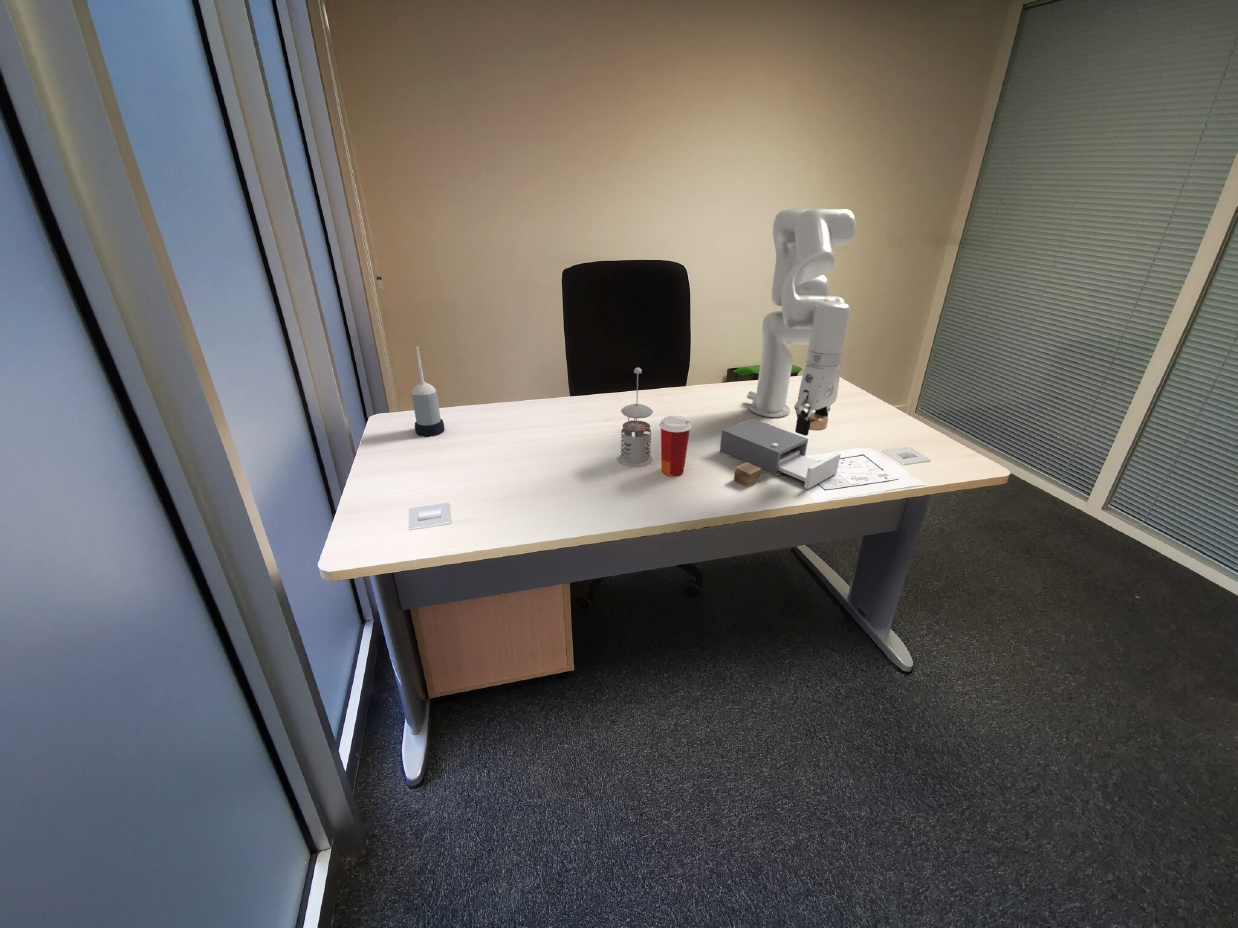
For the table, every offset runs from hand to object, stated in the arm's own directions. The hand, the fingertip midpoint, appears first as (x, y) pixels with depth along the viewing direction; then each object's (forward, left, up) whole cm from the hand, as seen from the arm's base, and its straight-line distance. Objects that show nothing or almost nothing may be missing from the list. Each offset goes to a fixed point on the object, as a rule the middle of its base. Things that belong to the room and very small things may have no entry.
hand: (810, 429), depth 131 cm
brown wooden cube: (-7, -14, -12) cm, 20 cm away
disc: (0, 0, +1) cm, 1 cm away
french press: (-34, -27, -12) cm, 45 cm away
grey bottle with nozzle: (-85, -62, -13) cm, 106 cm away
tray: (-4, 0, -12) cm, 13 cm away
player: (-13, 0, -12) cm, 18 cm away
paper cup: (-22, -25, -12) cm, 35 cm away
